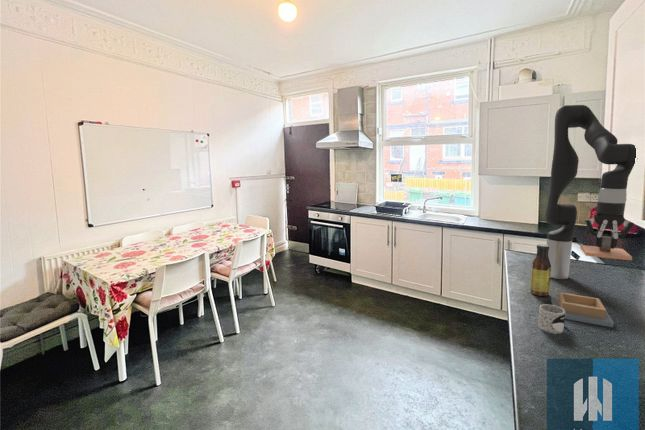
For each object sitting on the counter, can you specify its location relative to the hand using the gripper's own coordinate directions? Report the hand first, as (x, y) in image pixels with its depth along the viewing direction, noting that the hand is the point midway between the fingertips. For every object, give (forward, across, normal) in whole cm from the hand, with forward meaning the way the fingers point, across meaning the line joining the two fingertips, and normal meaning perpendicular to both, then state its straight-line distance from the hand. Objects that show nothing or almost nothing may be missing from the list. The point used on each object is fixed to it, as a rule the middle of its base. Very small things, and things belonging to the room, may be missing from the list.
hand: (605, 247), depth 119 cm
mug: (+21, +17, +31) cm, 41 cm away
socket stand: (+21, +8, +15) cm, 27 cm away
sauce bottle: (+21, +19, +2) cm, 28 cm away
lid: (+2, 0, 0) cm, 2 cm away
